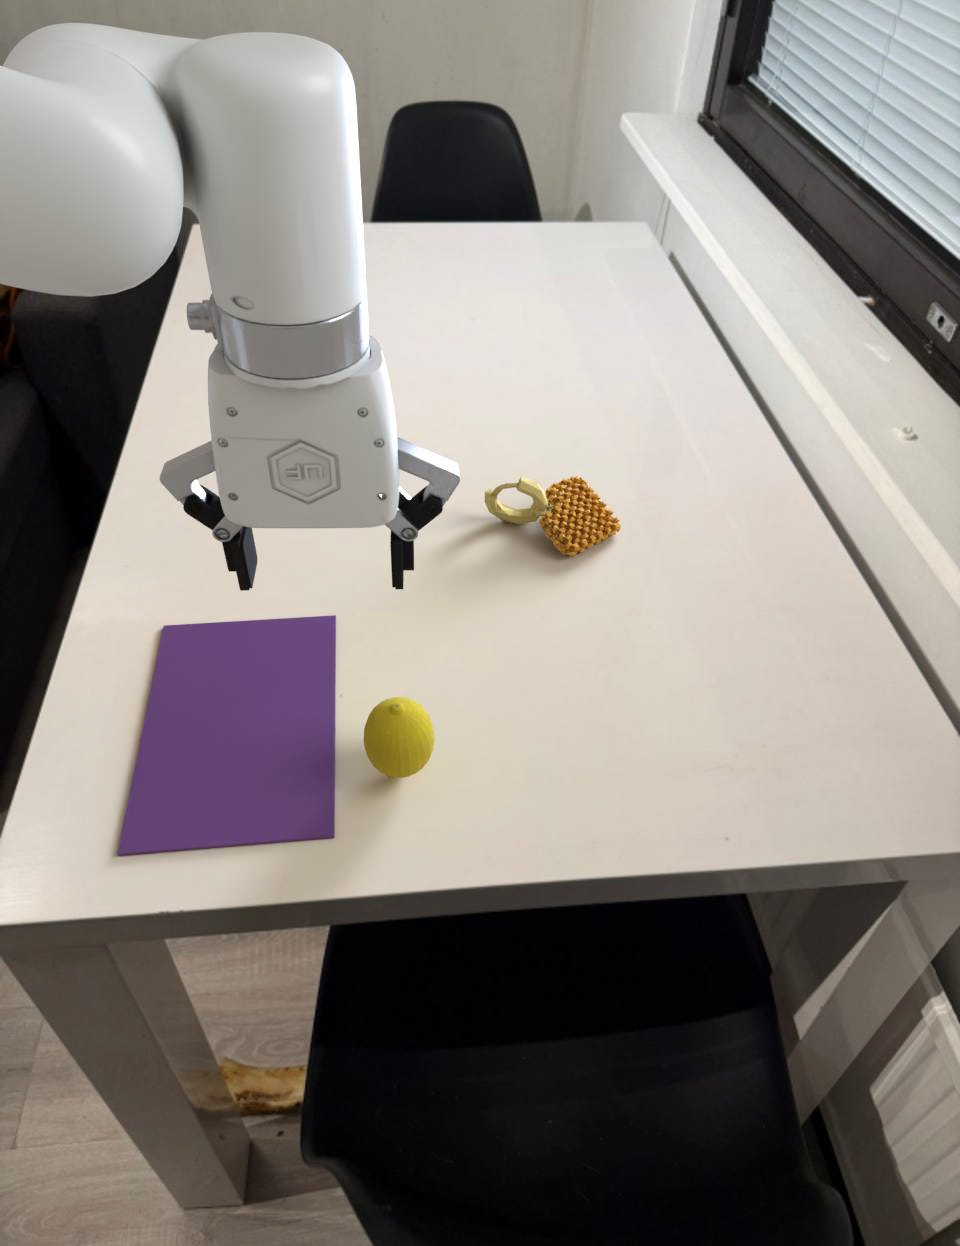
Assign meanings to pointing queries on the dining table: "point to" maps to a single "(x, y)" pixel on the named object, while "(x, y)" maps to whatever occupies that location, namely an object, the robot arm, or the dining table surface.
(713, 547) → the dining table surface
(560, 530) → the ornament
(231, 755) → the cloth
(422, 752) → the lemon
